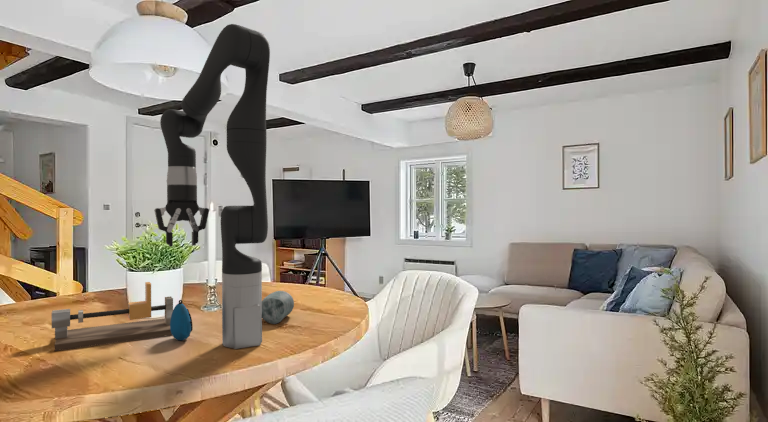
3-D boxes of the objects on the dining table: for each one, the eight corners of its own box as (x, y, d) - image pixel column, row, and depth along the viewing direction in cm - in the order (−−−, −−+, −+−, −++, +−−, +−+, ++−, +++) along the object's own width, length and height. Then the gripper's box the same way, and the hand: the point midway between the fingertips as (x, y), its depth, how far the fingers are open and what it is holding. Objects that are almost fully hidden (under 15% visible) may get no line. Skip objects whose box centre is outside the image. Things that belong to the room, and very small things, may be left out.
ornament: (196, 341, 114) (196, 301, 114) (177, 345, 111) (176, 303, 111) (185, 334, 121) (185, 296, 121) (166, 338, 118) (166, 298, 117)
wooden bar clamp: (177, 334, 121) (177, 301, 121) (50, 351, 107) (50, 314, 107) (169, 323, 133) (169, 293, 133) (53, 337, 118) (53, 303, 118)
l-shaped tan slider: (151, 317, 122) (151, 283, 122) (129, 319, 120) (129, 285, 120) (149, 314, 126) (149, 281, 125) (128, 316, 123) (128, 283, 123)
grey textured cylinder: (288, 315, 128) (275, 282, 131) (257, 330, 129) (246, 297, 132) (306, 316, 141) (294, 286, 144) (278, 329, 142) (267, 299, 145)
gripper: (154, 182, 121) (155, 248, 121) (212, 184, 129) (212, 245, 129) (151, 183, 127) (151, 246, 127) (206, 185, 135) (206, 243, 135)
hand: (182, 245), depth 128 cm, fingers open, 5 cm apart
